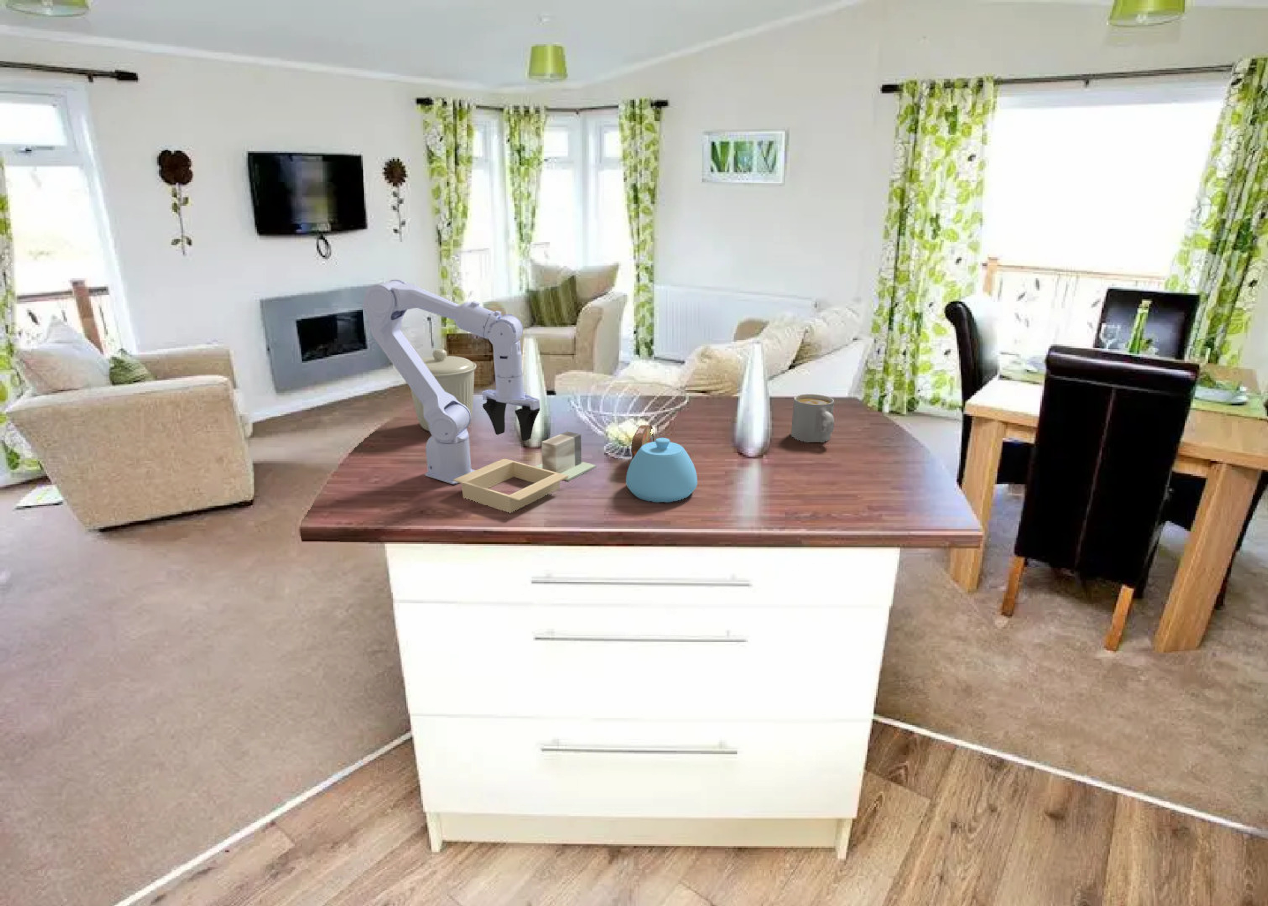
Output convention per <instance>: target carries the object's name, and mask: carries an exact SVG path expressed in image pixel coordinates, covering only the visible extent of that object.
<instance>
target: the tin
mask: <svg viewBox="0 0 1268 906" xmlns="http://www.w3.org/2000/svg"><path fill="white" fill-rule="evenodd" d="M651 429H653V430H654V428H653V425H652V424H641V425H639V426H638V428H637V429H636V432H635V433H634V435H633V436H632V440H631V444H630V445H631V447H630V448H631V449H630V450H631V460H632V459H633V458H634V456H635V455H636V453H637V452H638V450H639V449H640V448H641V447H642V446H643V445H644V444H647V443H650V442H655V440H654V439H655V437H654V436H655V435H654V433H653V434H652V435H651V433H650V432H651Z"/></svg>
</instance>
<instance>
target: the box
mask: <svg viewBox="0 0 1268 906" xmlns="http://www.w3.org/2000/svg"><path fill="white" fill-rule="evenodd" d="M541 461H542V462H541V463H542V467H543V469H545V470H549V471H553V472H556V473H562V472H564V471H567V470H569V469H571V468H573V467H575V466H577V465H579V464H581V463H582V462H583V461H582V434H581V433H578V432H577V433H576V432H571V431H568V430H567V431H564V432H563V433H560V434H557V435H555V436H552V437H550V438H548V439H546V440H543V441H541Z"/></svg>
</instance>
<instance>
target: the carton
mask: <svg viewBox="0 0 1268 906" xmlns="http://www.w3.org/2000/svg"><path fill="white" fill-rule="evenodd" d="M474 470H475V469H474ZM568 477H569V476H568V475H564V474H560V473H556V472H553V471H549V470H545V469H542V468H538V467H535V466H534V465H529V464H527V463H524V462H519V461H515V460H511V459H508V458H502V459H499V460H498V461H494V462H492V463H490V464H488V465H485V466H482V467H481V468H478V469H476V470H475V471H473V472H470V473H468V474H466V475H463V476H461V477H458V478H456V479H453V481H455V482H458V483H457V484H461V491H462V498H463V499H465V498H466V499H465V500H468V499H470V500H469V501H471V500H473V501H472V502H474V501H475V502H474V503H477V502H478V503H477V504H480V505H484V506H486V505H488V506H487V507H490V508H493V509H496V510H499V511H502V510H503V512H505V511H506V513H508V512H509V513H508V514H512V513H514V512H516V511H517V510H520V509H521V508H524V507H526V506H528V505H530V504H532V503H534V502H536V501H538V500H540V499H541V498H544V497H546V496H548V495H550V494H552V493H554V492H556V491H558V490H560V489H561V485H560V482H561V481H565V480H564V479H566V478H568ZM512 478H518V479H520V480H523V481H527V482H530V483H532V484H530V485H528V486H525V487H524V488H522V489H519V490H517V491H515V492H513V493H511V494H506V493H503V492H500V491H496V490H493V489H491V487H494V486H496V485H498V484H499V485H500V483H503V482H505V481H507V480H509V479H512ZM547 494H548V495H547ZM545 495H546V496H545ZM537 499H538V500H537ZM525 505H526V506H525ZM515 510H516V511H515ZM513 511H514V512H513ZM511 512H512V513H511Z"/></svg>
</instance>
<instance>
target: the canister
mask: <svg viewBox="0 0 1268 906" xmlns="http://www.w3.org/2000/svg"><path fill="white" fill-rule="evenodd" d="M421 359H422V361H423V362H424V363H425V365H426V366H427V368H428V369H429V370H430V372H431V373H432V375H433V376H434V377H435V379H436V380H437V381H438V383H439V384H440V386H441V387H442V388H443V390H444V391H445V392H447V393H449V394H451V395H453V396H454V397H455V398H456V399H457V400H458V401H459V402H460V403H461V404H463V405H465V406H466V407H467V408H468V409H469V411H470V413H471V420H472V417H473V406H474V385H475V370H476V369H477V363H475V362H473V361H471V360H470V359H467V358H466V357H461V356H454V355H447V351H446V350H445V348H444V349H443V348H437V349H434V350H433V351H432V356H429V357H423V358H421ZM410 392H411V397H412V401H413V404H414V409H415V414H416V416H417V417H416V418H417V420H418V423H419V425H420V427H421V428H422V429H424V430H426V431H427V432H430V430H429V425H428V423H427V421H426V420H425V418H424V407H423V404H422V403H421V402H420V400H419V399H418V397H417V396H416V395H415V393H414V392H413V391H412V389H411V388H410Z"/></svg>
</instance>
